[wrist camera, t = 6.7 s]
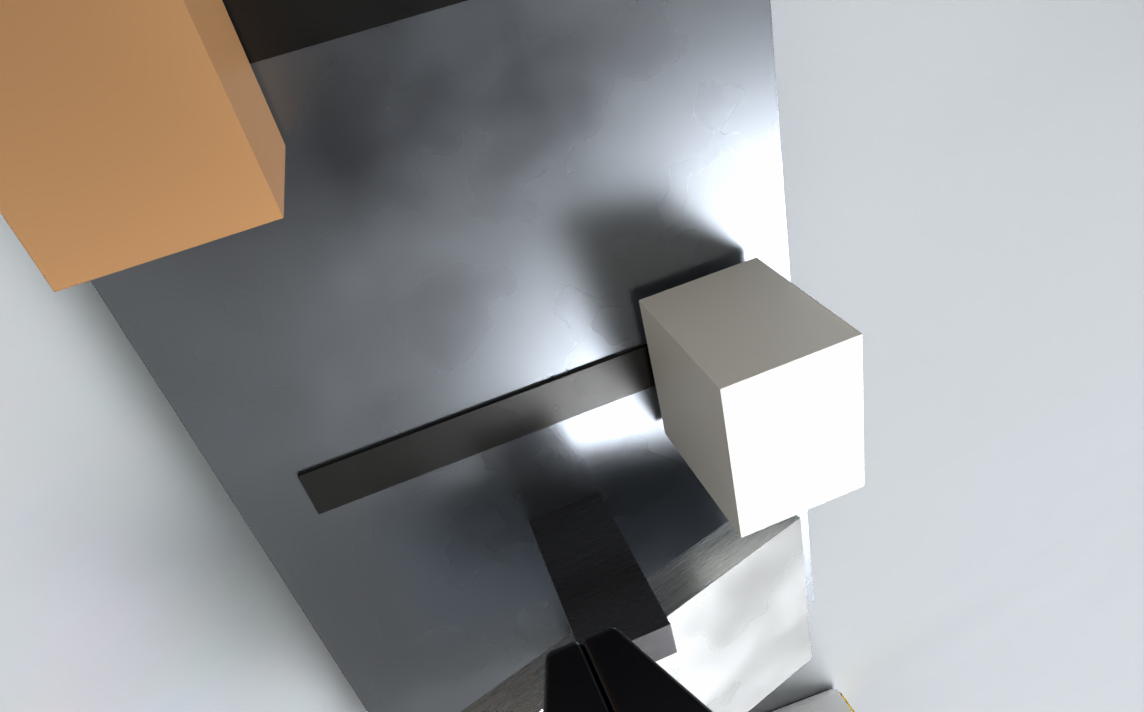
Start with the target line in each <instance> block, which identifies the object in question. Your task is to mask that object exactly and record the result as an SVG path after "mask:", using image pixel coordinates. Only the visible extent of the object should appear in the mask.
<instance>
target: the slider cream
mask: <svg viewBox="0 0 1144 712" xmlns="http://www.w3.org/2000/svg"><path fill="white" fill-rule="evenodd" d="M639 305H640V310H641V315H642V320H643V325H644V330H645V335H646V340H647V345H648V350H649V355H650V360H651V365H652V370H653V375H654V380H655V385H656V390H657V395H658V400H659V405H660V410H661V415H662V420H663V425H664V430H665V434H666V435H667V437H668V438H669V440H670V441H671V442H672V444H673V445H674V446H675V448H676V449H677V451H678V452H679V453H680V455H681V456H682V457H683V459H684V460H685V461H686V463H687V464H688V466H689V467H690V468H691V470H692V471H693V472H694V474H695V475H696V477H697V478H698V479H699V481H700V482H701V483H702V485H703V486H704V488H705V489H706V490H707V492H708V493H709V494H710V496H711V497H712V498H713V500H714V501H715V503H716V504H717V505H718V507H719V508H720V509H721V511H722V512H723V514H724V515H725V516H726V518H727V519H728V520H729V522H730V523H731V525H732V526H733V527H734V529H735V530H736V531H737V533H738V534H739V535H740V537H741V538H743V537H745V536H747V535H750V534H752V533H754V532H757V531H759V530H761V529H764V528H766V527H769V526H771V525H773V524H776V523H778V522H780V521H783V520H785V519H788V518H790V517H792V516H795V515H797V514H799V513H802V512H804V511H806V510H809V509H811V508H814V507H816V506H818V505H821V504H823V503H825V502H828V501H830V500H833V499H835V498H837V497H840V496H842V495H844V494H847V493H849V492H851V491H854V490H856V489H859V488H861V487H863V486H865V478H864V409H863V341H862V333H860V332H859V331H858V330H856V329H855V328H854V327H852V326H851V325H849V324H848V323H847V322H845V321H844V320H842V319H841V318H840V317H838V316H837V315H836V314H834V313H833V312H831V311H830V310H829V309H827V308H826V307H824V306H823V305H822V304H820V303H819V302H818V301H816V300H815V299H813V298H812V297H811V296H809V295H808V294H806V293H805V292H804V291H802V290H801V289H800V288H798V287H797V286H795V285H794V284H793V283H791V282H790V281H788V280H787V279H786V278H784V277H783V276H782V275H780V274H779V273H777V272H776V271H775V270H773V269H772V268H770V267H769V266H768V265H766V264H765V263H763V262H762V261H761V260H759V259H758V258H757V257H756V258H753V259H750V260H748V261H745V262H742V263H739V264H737V265H734V266H731V267H729V268H726V269H723V270H720V271H718V272H715V273H712V274H709V275H707V276H704V277H701V278H698V279H696V280H693V281H690V282H687V283H685V284H682V285H679V286H676V287H674V288H671V289H668V290H665V291H663V292H660V293H657V294H654V295H652V296H649V297H646V298H643V299H641V300H639Z"/></svg>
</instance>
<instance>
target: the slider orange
mask: <svg viewBox="0 0 1144 712" xmlns="http://www.w3.org/2000/svg"><path fill="white" fill-rule="evenodd" d="M284 183H285V143H284V141H283V139H282V137H281V134H280V132H279V130H278V127H277V125H276V123H275V121H274V118H273V116H272V114H271V111H270V109H269V107H268V104H267V102H266V100H265V98H264V95H263V93H262V91H261V88H260V86H259V84H258V82H257V79H256V77H255V75H254V72H253V70H252V68H251V65H250V63H249V61H248V59H247V56H246V54H245V52H244V49H243V47H242V45H241V43H240V40H239V38H238V36H237V33H236V31H235V29H234V26H233V24H232V22H231V20H230V17H229V15H228V13H227V10H226V8H225V6H224V4H223V1H222V0H0V213H1V214H2V215H3V217H4V218H5V220H6V221H7V223H8V224H9V226H10V227H11V229H12V230H13V232H14V233H15V235H16V236H17V238H18V239H19V241H20V242H21V243H22V245H23V246H24V248H25V249H26V251H27V252H28V254H29V255H30V257H31V258H32V260H33V261H34V263H35V264H36V266H37V267H38V269H39V270H40V271H41V273H42V274H43V276H44V277H45V279H46V280H47V282H48V283H49V285H50V286H51V288H52V289H53V291H54V292H56V291H59V290H62V289H65V288H69V287H72V286H75V285H78V284H81V283H84V282H87V281H90V280H93V279H96V278H99V277H103V276H106V275H109V274H112V273H115V272H118V271H121V270H124V269H127V268H130V267H133V266H137V265H140V264H143V263H146V262H149V261H152V260H155V259H158V258H161V257H164V256H168V255H171V254H174V253H177V252H180V251H183V250H186V249H189V248H192V247H195V246H198V245H202V244H205V243H208V242H211V241H214V240H217V239H220V238H223V237H226V236H229V235H232V234H236V233H239V232H242V231H245V230H248V229H251V228H254V227H257V226H260V225H263V224H266V223H270V222H273V221H276V220H279V219H282V218H284Z"/></svg>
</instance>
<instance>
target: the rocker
mask: <svg viewBox="0 0 1144 712" xmlns="http://www.w3.org/2000/svg"><path fill="white" fill-rule="evenodd" d="M646 580H647V581H648V583H649V585H650V587H651V589H652V591H653V593H654V594H655V596H656V598H657V600H658V602H659V604H660V605H661V607H662V609H663V611H664V613H665V615H666V617H667V618H668V620H669V622H670V624H671V628H672V632H673V637H674V641H675V645H676V649H677V653H674V654H672V655H670V656H668V657H665V658H663V659H661V660H658V661H656V663H658V664H659V665H660V666H661V667H662V668H663V669H664V670H666V671H667V672H668V673H669V674H670V675H671V676H672V677H674V678H675V679H676V680H677V681H678V682H679V683H681V684H682V685H683V686H684V687H685V688H686V689H687V690H689V691H690V692H691V693H692V694H693V695H694V696H696V697H697V698H698V699H699V700H700V701H701V702H702V703H704V704H705V705H706V706H707V707H708V708H709V709H711V710H712V711H713V712H748V711H750V710H751V709H752V708H753V707H754V706H756V705H757V704H758V703H759V702H760V701H762V700H763V699H764V698H765V697H766V696H767V695H769V694H770V693H771V692H772V691H773V690H775V689H776V688H777V687H778V686H779V685H781V684H782V683H783V682H784V681H785V680H787V679H788V678H789V677H790V676H791V675H792V674H794V673H795V672H796V671H797V670H798V669H800V668H801V667H802V666H803V665H804V664H806V663H807V662H808V661H809V660H810V659H812V657H811V645H810V632H809V620H808V607H807V595H806V582H805V570H804V557H803V545H802V532H801V520H800V517H799V516H797V515H795V516H792V517H790V518H788V519H785V520H783V521H780V522H778V523H776V524H773V525H771V526H769V527H766V528H764V529H761V530H759V531H757V532H754V533H752V534H750V535H747V536H745V537H743V538H741V537H740V535H739V534H738V533H737V531H736V530H735V529H734V527H733V526H732V525H731V523H730V522H729V521H728V522H726V523H725V524H724V525H722V526H721V527H719V528H718V529H717V530H715V531H714V532H712V533H711V534H709V535H708V536H707V537H705V538H704V539H702V540H701V541H700V542H698V543H697V544H695V545H694V546H693V547H691V548H690V549H688V550H687V551H686V552H684V553H683V554H681V555H680V556H679V557H677V558H676V559H674V560H673V561H672V562H670V563H669V564H667V565H666V566H664V567H663V568H662V569H660V570H659V571H657V572H656V573H655V574H653V575H652V576H650V577H649V578H648V579H646ZM572 642H575V640H574V637H573V635H572V633H570V634H569V635H568V636H566V637H565V638H563V639H562V640H560V641H559V642H558V643H556V644H555V645H553V646H552V647H551V648H549V649H548V650H546V651H545V652H544V653H542V654H541V655H539V656H538V657H537V658H535V659H534V660H532V661H531V662H530V663H528V664H527V665H525V666H524V667H523V668H521V669H520V670H518V671H517V672H515V673H514V674H513V675H511V676H510V677H508V678H507V679H506V680H504V681H503V682H501V683H500V684H499V685H497V686H496V687H494V688H493V689H492V690H490V691H489V692H487V693H486V694H485V695H483V696H482V697H480V698H479V699H478V700H476V701H475V702H473V703H472V704H471V705H469V706H468V707H466V708H465V709H463V710H462V711H461V712H543V696H544V670H545V658H546V655H547V654H548V653H549V652H550V651H552V650H555V649H557V648H560V647H562V646H564V645H567V644H569V643H572Z"/></svg>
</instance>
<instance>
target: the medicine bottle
mask: <svg viewBox="0 0 1144 712" xmlns="http://www.w3.org/2000/svg"><path fill="white" fill-rule="evenodd" d="M772 712H854V710H853V709H852V708H851V706H850V705H849V703H848V702H847V700H846V699H845V698H844V696H843V695H842V693H841V692H839V691H838V690H836V689H829V690H827V691H824V692H821V693H819V694H816V695H814V696H811V697H808V698H806V699H803V700H801V701H798V702H795V703H793V704H790V705H788V706H785V707H782V708H780V709H777V710H774V711H772Z"/></svg>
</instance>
